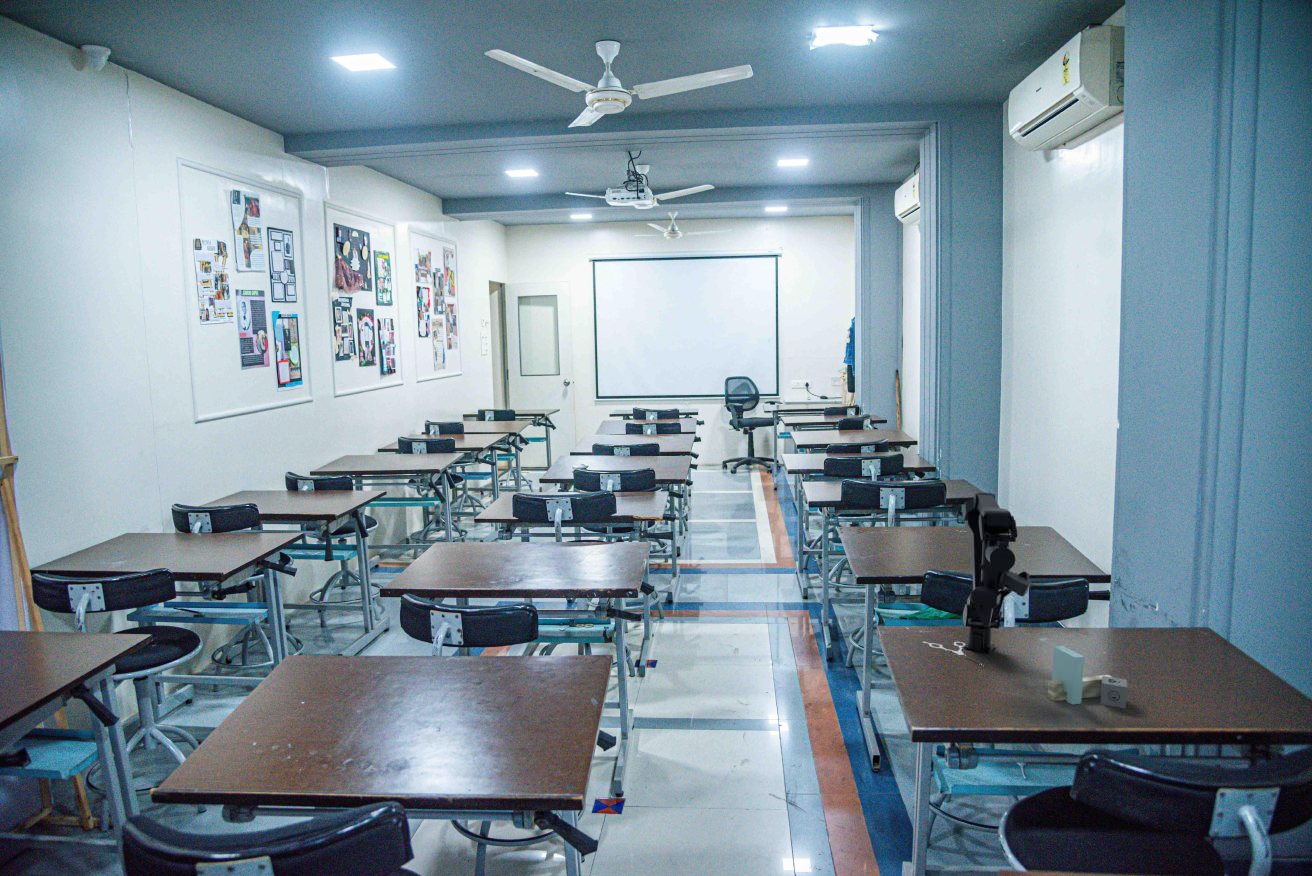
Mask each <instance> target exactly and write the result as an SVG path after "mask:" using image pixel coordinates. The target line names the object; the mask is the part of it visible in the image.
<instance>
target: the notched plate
mask: <svg viewBox="0 0 1312 876" xmlns="http://www.w3.org/2000/svg"><path fill="white" fill-rule="evenodd" d="M1052 653H1053V654H1052V671H1051V672H1052V673H1051V681H1053V680H1057V681H1059V682H1061V683H1062V690H1063V691H1065V692H1066V693H1067V700H1066V702H1067V703H1069V704H1071V705H1080V704H1082V699H1083V698H1082V682H1083V677H1084V664H1085V662H1084V661H1085V656H1084V655H1082V654H1080V653H1077V651H1074V650H1072V649H1069V648H1068V647H1066V646H1063V645H1058V646H1053V652H1052Z"/></svg>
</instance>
